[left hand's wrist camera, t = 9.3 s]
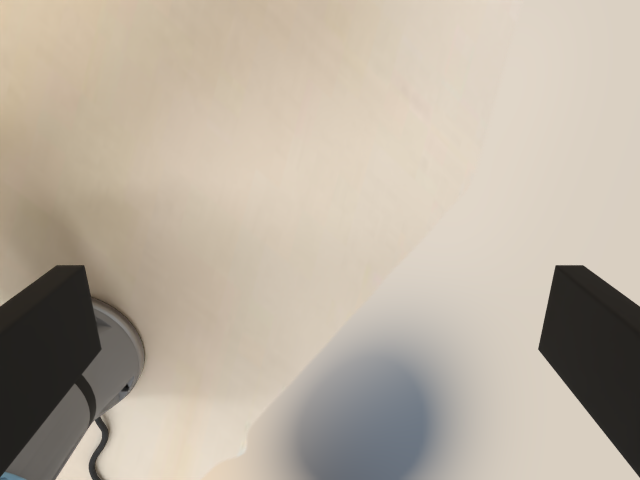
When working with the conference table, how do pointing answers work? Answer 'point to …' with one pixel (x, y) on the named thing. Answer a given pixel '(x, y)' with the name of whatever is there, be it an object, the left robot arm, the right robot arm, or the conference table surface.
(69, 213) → the conference table surface
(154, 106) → the conference table surface
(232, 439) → the conference table surface
